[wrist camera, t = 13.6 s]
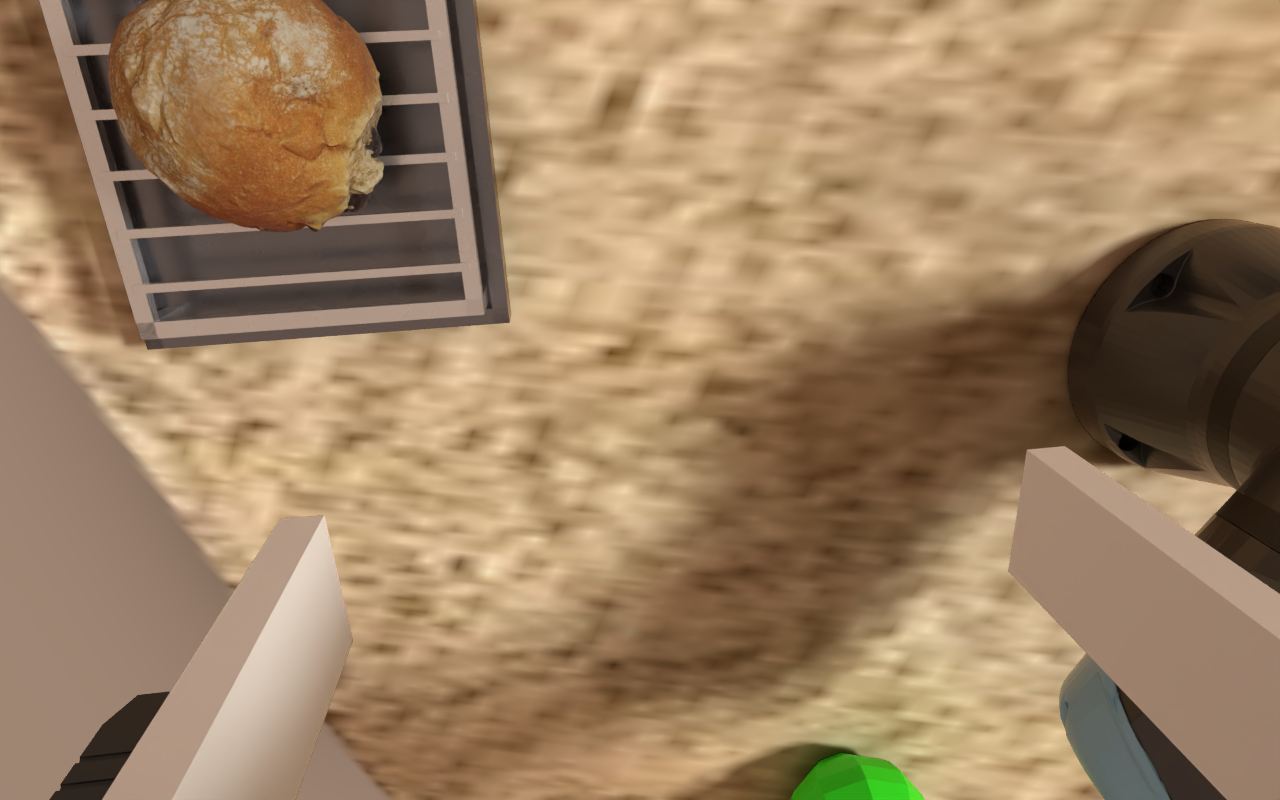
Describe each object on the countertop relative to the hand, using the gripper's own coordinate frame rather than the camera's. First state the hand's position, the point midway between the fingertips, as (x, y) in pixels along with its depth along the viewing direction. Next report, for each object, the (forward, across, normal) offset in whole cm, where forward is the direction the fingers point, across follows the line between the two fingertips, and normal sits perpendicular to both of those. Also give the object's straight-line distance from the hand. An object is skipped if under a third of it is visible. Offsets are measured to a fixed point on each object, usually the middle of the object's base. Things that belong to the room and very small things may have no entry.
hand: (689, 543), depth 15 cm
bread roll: (+25, +14, -8) cm, 30 cm away
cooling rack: (+29, +14, -8) cm, 33 cm away
